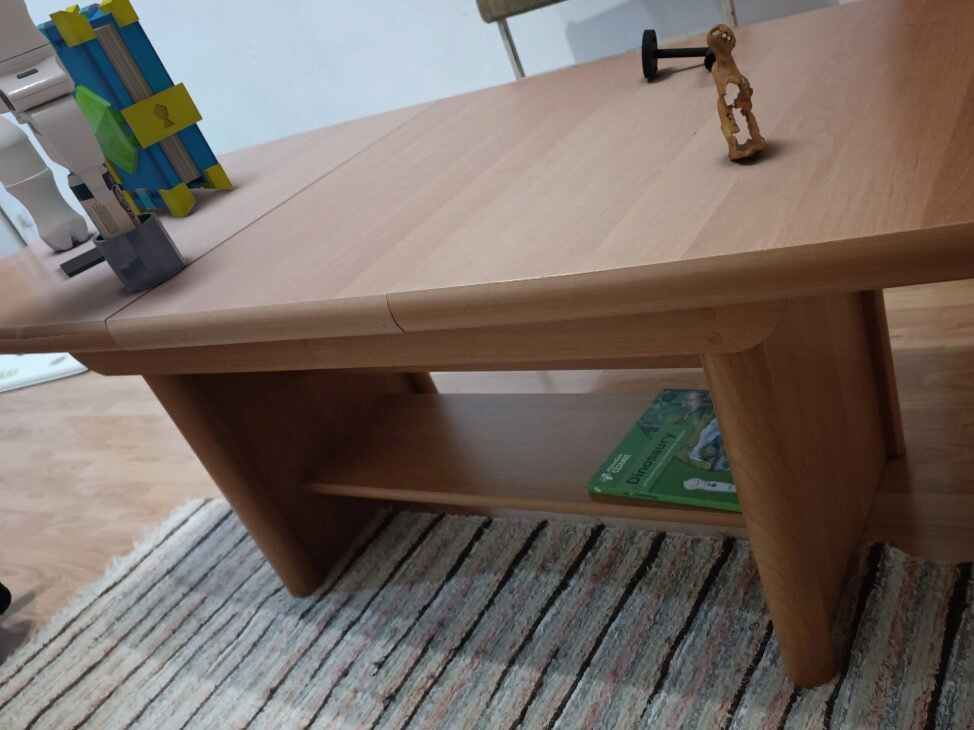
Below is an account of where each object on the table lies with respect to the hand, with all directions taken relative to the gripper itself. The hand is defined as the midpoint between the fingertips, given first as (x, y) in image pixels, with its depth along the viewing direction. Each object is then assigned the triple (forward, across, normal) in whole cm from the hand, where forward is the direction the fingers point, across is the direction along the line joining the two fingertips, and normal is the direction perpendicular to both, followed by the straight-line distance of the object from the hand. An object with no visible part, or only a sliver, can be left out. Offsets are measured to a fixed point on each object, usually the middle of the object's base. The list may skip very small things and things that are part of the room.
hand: (102, 199), depth 106 cm
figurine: (+10, +62, +47) cm, 78 cm away
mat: (+11, -26, -4) cm, 28 cm away
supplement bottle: (+8, 0, 0) cm, 8 cm away
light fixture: (+10, +33, +66) cm, 74 cm away
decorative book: (+11, -35, +13) cm, 39 cm away
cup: (+11, 0, 0) cm, 11 cm away
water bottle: (+11, -43, -4) cm, 45 cm away
